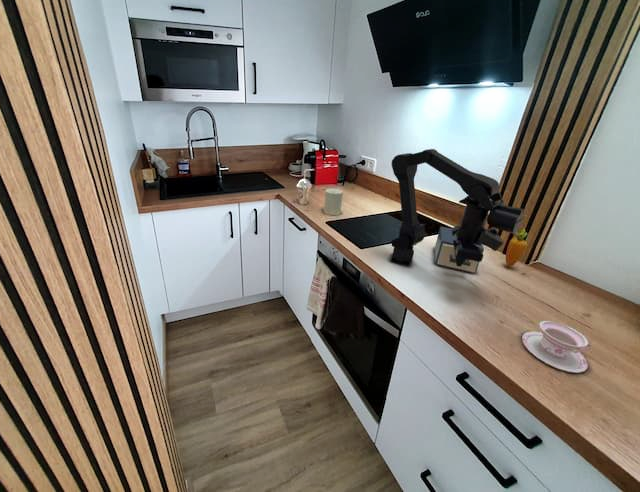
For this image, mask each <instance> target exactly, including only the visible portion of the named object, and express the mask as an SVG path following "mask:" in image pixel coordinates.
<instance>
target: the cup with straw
mask: <svg viewBox="0 0 640 492" xmlns="http://www.w3.org/2000/svg"><path fill="white" fill-rule="evenodd" d="M308 171H309V172H311V171H315V168H312V169H311V168H310V169H308V168H307V169H305V170H304V171H303V178H302V179H300V180H299V181H298V183H297V184H296V187H297V191H298V203H299V205H300V204H301V205H307V204H308V201H309V195H310V191H311V188H313V185H312V184H311V181H310V180H309V179H307V178H306V173H307V172H308Z"/></svg>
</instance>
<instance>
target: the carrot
mask: <svg viewBox="0 0 640 492" xmlns="http://www.w3.org/2000/svg"><path fill="white" fill-rule="evenodd" d="M514 235H515V236H516V237H512V238H511V239H510V240H509V242H508V245H507V249H506V252H505V264H506V266H507V268H511V267H513V266H514V265H515V264H516V263H517V262H518V261H519V260H520V259H521V257H522V256H523V254H524V253H525V250H526V249H527V247H528V241H526V240H525V238H526V237H527V236H528V232H526V229H524V228H522V229H521V233H518V232H517V231H516V233H515V234H514Z"/></svg>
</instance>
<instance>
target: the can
mask: <svg viewBox="0 0 640 492" xmlns="http://www.w3.org/2000/svg"><path fill="white" fill-rule="evenodd" d="M324 193H325V194H324V202H323V203H324V204H323V211H322V212H323V213H324V214H326V215H330V216H339V215H341V214H342V205H343V204H342V203H343V194H344V190H342V189H341V188H335V187H333V188H326V189H325V192H324Z"/></svg>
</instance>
